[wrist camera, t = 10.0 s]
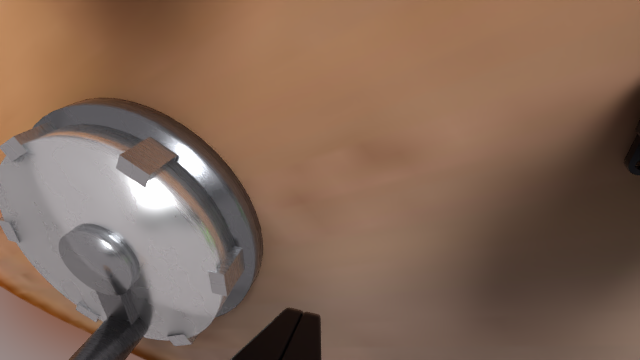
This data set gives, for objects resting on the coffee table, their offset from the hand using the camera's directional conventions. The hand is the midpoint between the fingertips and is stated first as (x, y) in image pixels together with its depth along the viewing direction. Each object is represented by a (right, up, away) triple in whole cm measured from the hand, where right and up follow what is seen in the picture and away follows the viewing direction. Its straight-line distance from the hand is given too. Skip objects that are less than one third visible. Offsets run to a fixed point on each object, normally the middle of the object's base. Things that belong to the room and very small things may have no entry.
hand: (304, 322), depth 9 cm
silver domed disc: (-13, 0, +17) cm, 21 cm away
